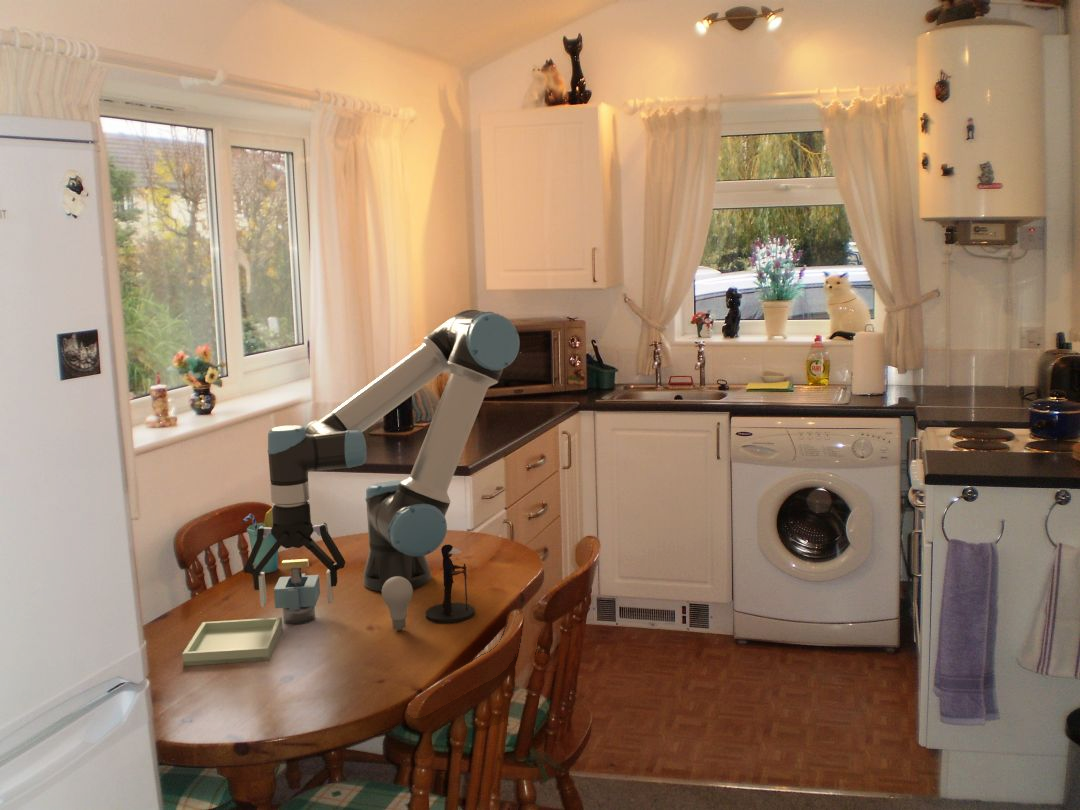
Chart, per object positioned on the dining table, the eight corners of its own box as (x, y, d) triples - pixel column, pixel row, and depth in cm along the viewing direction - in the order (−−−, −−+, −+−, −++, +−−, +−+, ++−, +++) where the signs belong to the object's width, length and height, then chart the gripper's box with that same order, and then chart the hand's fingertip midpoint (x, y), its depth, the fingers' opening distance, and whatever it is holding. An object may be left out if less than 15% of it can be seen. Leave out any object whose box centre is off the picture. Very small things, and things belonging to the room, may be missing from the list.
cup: (262, 581, 252) (257, 517, 250) (233, 579, 255) (228, 516, 252) (294, 563, 265) (289, 502, 263) (266, 561, 268) (261, 501, 265)
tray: (282, 628, 221) (281, 617, 221) (268, 660, 205) (267, 648, 205) (203, 633, 220) (202, 622, 220) (183, 665, 204) (182, 653, 204)
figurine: (477, 621, 222) (474, 549, 219) (427, 626, 220) (423, 553, 217) (471, 604, 231) (468, 535, 229) (423, 609, 230) (419, 540, 227)
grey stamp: (317, 612, 230) (313, 555, 228) (313, 623, 223) (308, 564, 221) (286, 614, 229) (281, 557, 227) (281, 625, 223) (276, 566, 221)
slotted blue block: (282, 592, 231) (281, 574, 230) (321, 590, 232) (319, 572, 231) (273, 611, 220) (272, 591, 219) (314, 608, 221) (312, 589, 220)
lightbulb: (420, 626, 220) (417, 573, 218) (406, 637, 214) (403, 582, 212) (392, 623, 222) (389, 571, 220) (378, 634, 216) (375, 580, 214)
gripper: (354, 495, 227) (360, 594, 230) (231, 500, 225) (239, 600, 229) (351, 504, 220) (356, 606, 223) (224, 509, 218) (231, 612, 221)
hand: (297, 603), depth 226 cm, fingers open, 13 cm apart
